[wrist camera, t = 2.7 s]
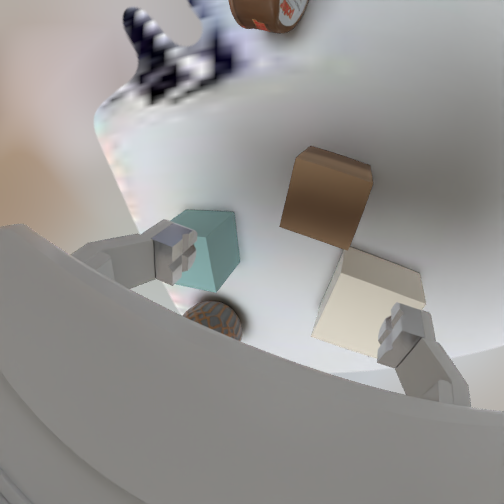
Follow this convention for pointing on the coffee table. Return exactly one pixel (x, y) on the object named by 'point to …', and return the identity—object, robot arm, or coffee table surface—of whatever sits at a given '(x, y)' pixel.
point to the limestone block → (364, 300)
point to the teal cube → (210, 248)
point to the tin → (268, 14)
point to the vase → (216, 318)
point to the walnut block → (326, 196)
